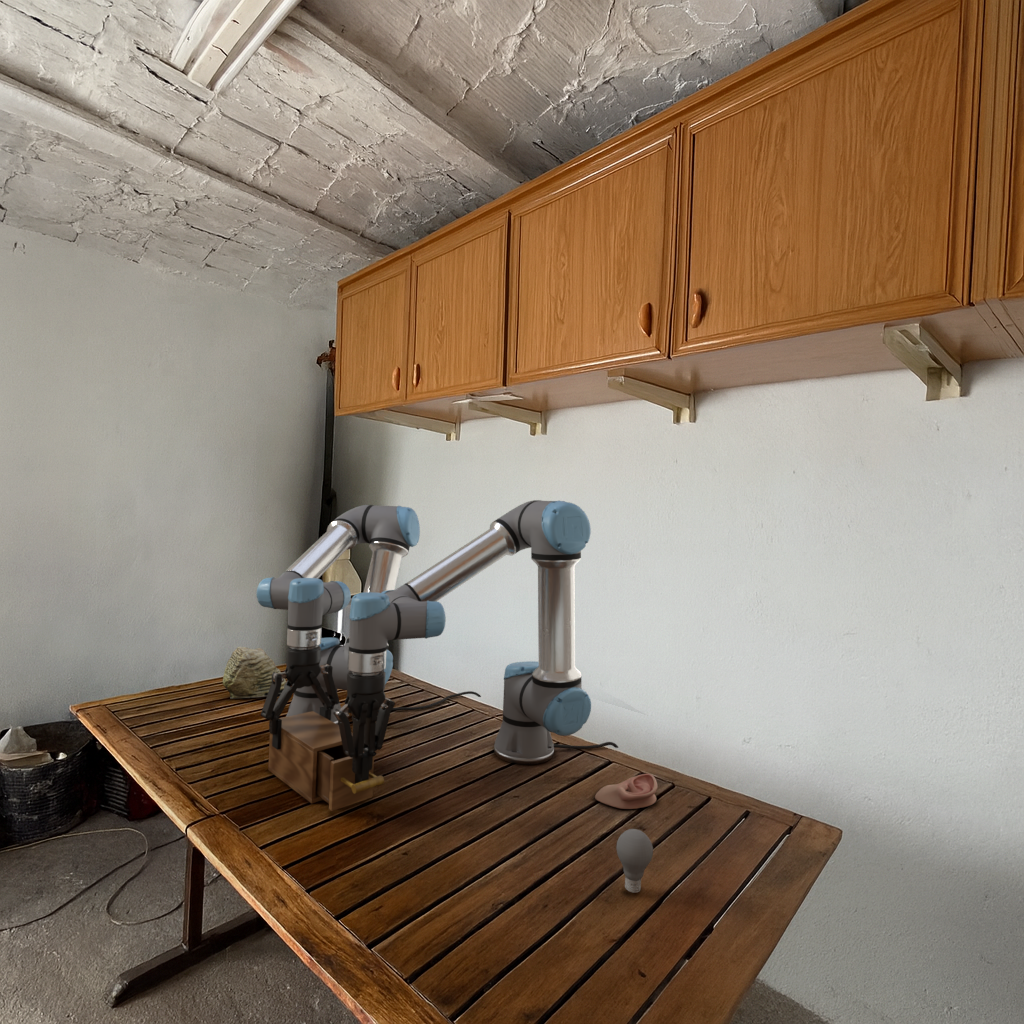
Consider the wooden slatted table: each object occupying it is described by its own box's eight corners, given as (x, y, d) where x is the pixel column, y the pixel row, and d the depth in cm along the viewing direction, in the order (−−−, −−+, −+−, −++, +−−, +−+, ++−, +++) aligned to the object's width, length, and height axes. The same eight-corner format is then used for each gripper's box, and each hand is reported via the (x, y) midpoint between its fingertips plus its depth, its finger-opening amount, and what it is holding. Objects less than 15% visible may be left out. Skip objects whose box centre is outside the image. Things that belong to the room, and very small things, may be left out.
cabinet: (356, 788, 138) (358, 736, 138) (311, 803, 131) (313, 748, 130) (311, 758, 153) (313, 710, 152) (268, 770, 145) (270, 720, 145)
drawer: (389, 808, 128) (391, 761, 128) (347, 823, 122) (349, 774, 121) (326, 766, 146) (327, 725, 146) (287, 777, 140) (288, 734, 140)
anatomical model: (594, 786, 135) (598, 765, 146) (593, 805, 135) (597, 782, 146) (658, 795, 132) (657, 772, 143) (657, 814, 132) (656, 790, 143)
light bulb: (610, 879, 108) (613, 822, 108) (644, 879, 109) (647, 822, 109) (619, 902, 102) (622, 840, 102) (655, 901, 103) (658, 840, 103)
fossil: (218, 695, 195) (220, 647, 195) (278, 685, 208) (279, 640, 207) (228, 703, 189) (230, 653, 188) (289, 692, 201) (290, 645, 201)
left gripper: (261, 656, 134) (257, 759, 135) (357, 642, 151) (353, 734, 151) (246, 649, 140) (243, 748, 140) (340, 637, 156) (337, 725, 157)
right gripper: (347, 680, 119) (341, 804, 120) (404, 670, 129) (399, 785, 129) (327, 671, 125) (322, 789, 125) (384, 661, 134) (379, 772, 134)
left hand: (300, 741), depth 146 cm, fingers closed on cabinet, 11 cm apart
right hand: (361, 787), depth 127 cm, fingers closed
